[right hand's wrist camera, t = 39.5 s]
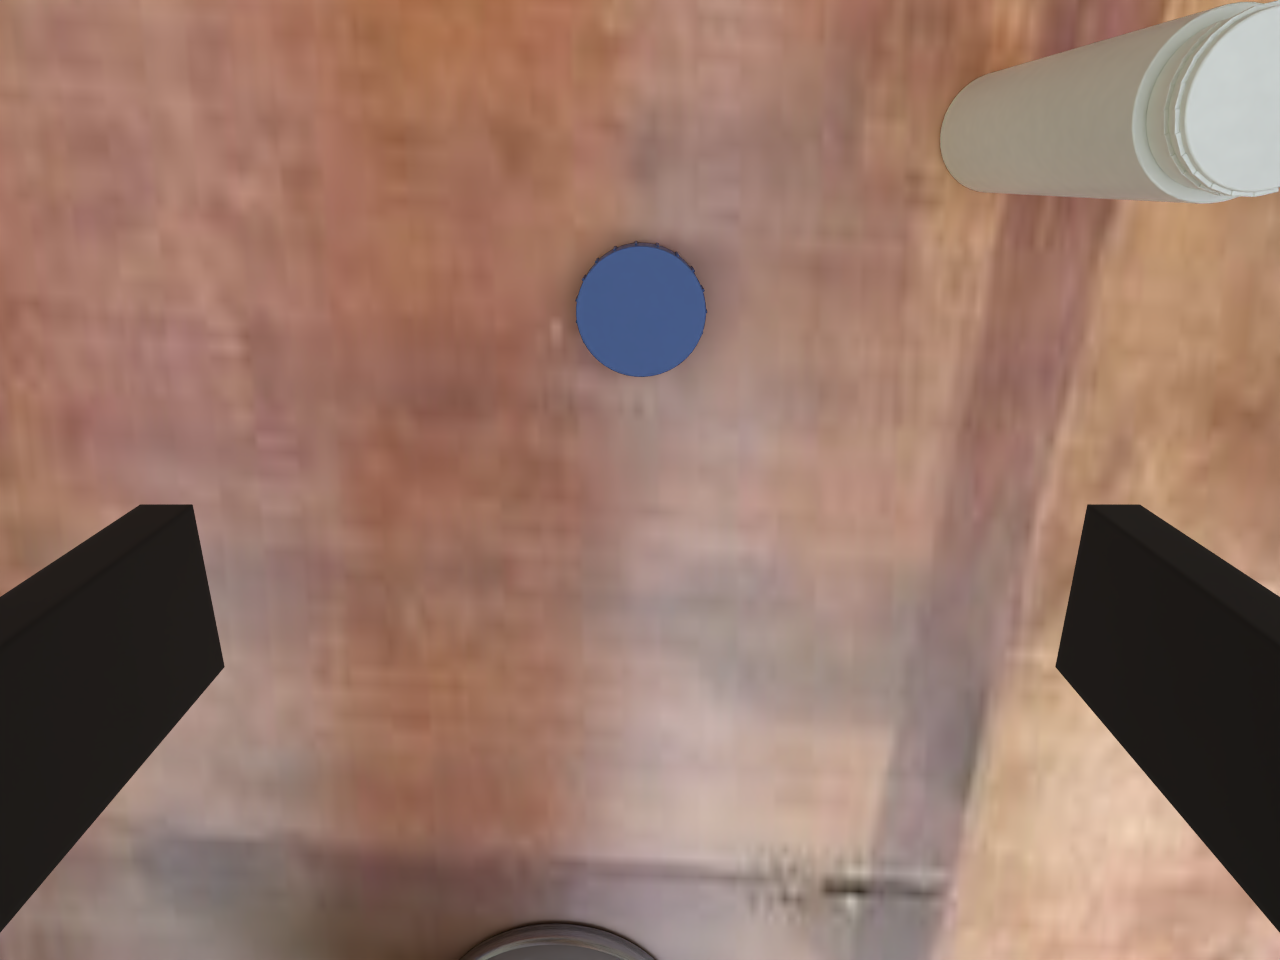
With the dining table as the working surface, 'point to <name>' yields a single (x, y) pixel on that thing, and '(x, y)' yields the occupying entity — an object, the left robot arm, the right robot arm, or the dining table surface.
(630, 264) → the lid
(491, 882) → the dining table surface
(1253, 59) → the jar
